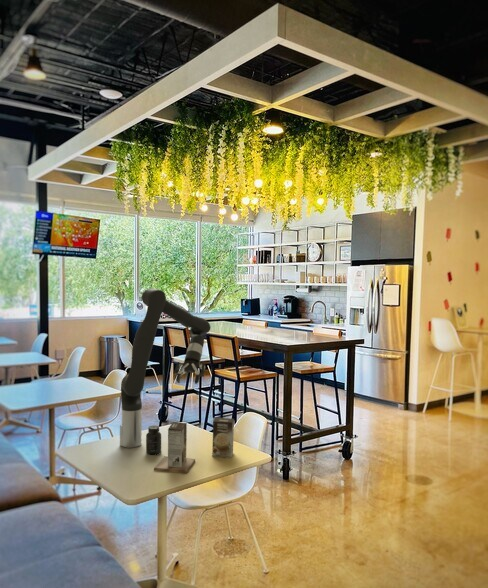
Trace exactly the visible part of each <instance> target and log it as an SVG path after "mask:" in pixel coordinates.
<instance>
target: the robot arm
mask: <svg viewBox="0 0 488 588" xmlns="http://www.w3.org/2000/svg"><path fill="white" fill-rule="evenodd" d="M141 301H142V303H143V304H144V305H145V306H146V307H147V309H146V313H145V317H144V318H143V320H142V322H141V324H140V325H139V326H138V328H137V330H136V332H135V335H134V339H133V343H132V346H131V363H130V368H129V372H128V374H126V375H125V376H124V377H123V378H122V380H121V383H120V402H121V425H120V426H119V446H121V447H124V448H137V447H140V446H141V445H142V441H143V439H142V433H143V432H142V429H143V428H142V427H143V425H142V423H143V419H142V418H143V417H142V415H143V413H142V412H143V401H142V398H141V397H142V396H141V392H143V389H144V386H145V379H146V371H147V368H148V367H147V366H148V363H149V360H150V357H151V354H152V350H153V346H154V342H155V339H156V335H157V334H156V333H157V330H158V326H159V322H160V320H161V316H162V313H163V314H164V315H165V316H168V317H170V318H171V319H172V320H174V321H175V322H177V323H178V324H180V325H181V326H183V327H185V328H188V329H189V333H190V340H189V344H188V347H187V349H186V353H185V357H184V361H183V363H180V361H178V362H176V365H175V369H174V371H173V372H174V374H175V376H176V378H175V379H176V382H177V383H178V384H179V383H180V382H181V378H182V376H183V375H184V374H186V373H188V374H189V373H191V374H194V373H195V379H194V384H195V385H197V384H198V383H199V382H200V378H201V377H202V378H203V377H205V373H206V372H205V371H206V364H205V363H201V360H202V356H203V348H204V344H205V338H204V337H203V336H204V335H206V334H208V333H209V332H210V331H211V324H210V322H209V321H208V320H206V319H205V318H203V317H200V316H197V315H193V314H192V313H190V312H189V311H187V310H186V309H184V308H183V307H180V306H178V305H176V304H173V302H170V301H168V300H167V296H166V293H165V292H164V291H163V290H161V289H159V288H148V289H147V288H146V289H145V290H144V291H142V295H141ZM200 363H201V364H200ZM199 369H200V372H199Z"/></svg>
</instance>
